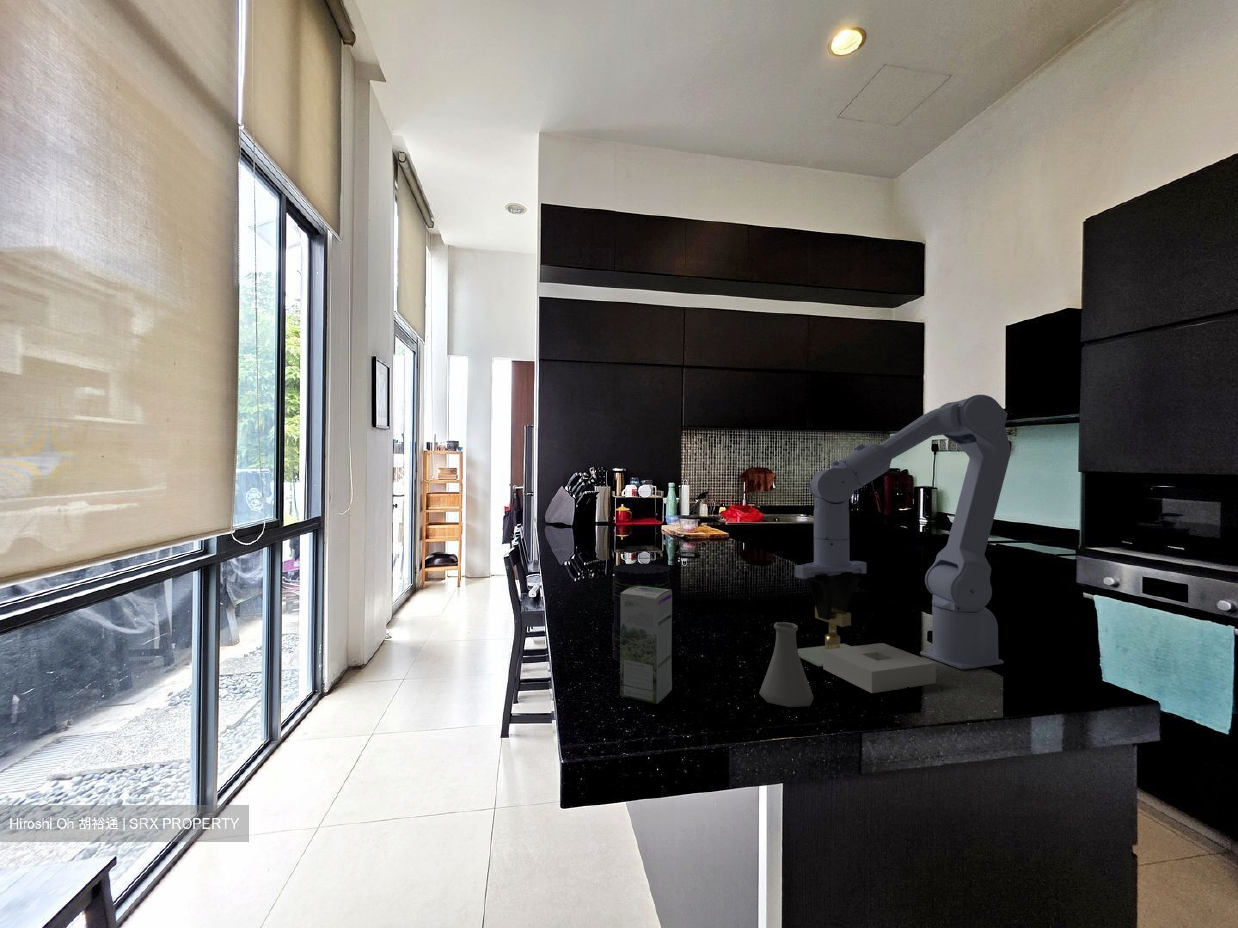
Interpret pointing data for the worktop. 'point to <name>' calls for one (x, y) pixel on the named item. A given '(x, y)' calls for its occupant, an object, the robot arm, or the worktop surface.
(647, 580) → the storage jar
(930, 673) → the block
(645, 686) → the syrup box
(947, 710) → the worktop surface
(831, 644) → the t key
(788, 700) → the flask
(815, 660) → the mat
